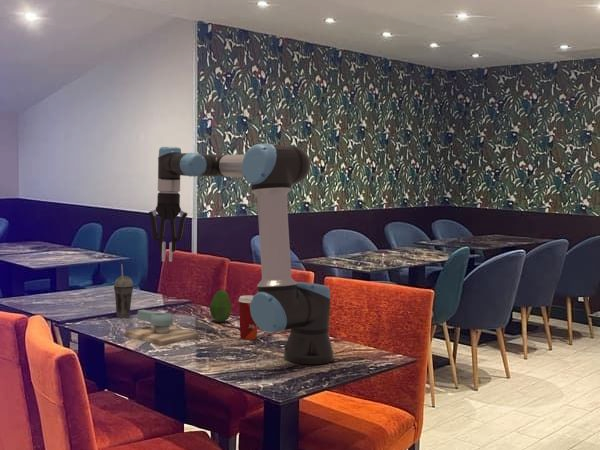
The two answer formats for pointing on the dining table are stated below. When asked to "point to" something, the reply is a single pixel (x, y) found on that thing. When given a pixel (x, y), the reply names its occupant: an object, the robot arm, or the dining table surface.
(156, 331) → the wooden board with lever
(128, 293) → the beverage cup
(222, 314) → the avocado
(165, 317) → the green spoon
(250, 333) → the paper cup
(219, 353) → the dining table surface
